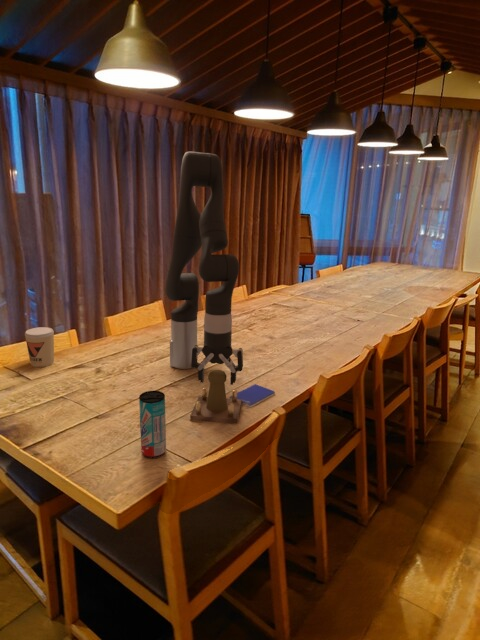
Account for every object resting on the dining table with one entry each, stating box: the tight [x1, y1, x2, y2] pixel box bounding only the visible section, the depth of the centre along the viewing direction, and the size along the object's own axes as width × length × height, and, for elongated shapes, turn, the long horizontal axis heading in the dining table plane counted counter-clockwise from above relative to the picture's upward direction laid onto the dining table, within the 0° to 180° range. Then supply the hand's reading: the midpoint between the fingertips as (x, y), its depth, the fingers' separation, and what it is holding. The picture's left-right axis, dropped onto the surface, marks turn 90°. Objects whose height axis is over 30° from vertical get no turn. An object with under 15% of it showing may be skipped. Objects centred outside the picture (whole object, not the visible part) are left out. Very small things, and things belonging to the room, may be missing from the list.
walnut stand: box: [189, 386, 242, 425], centre depth 129 cm, size 13×12×5 cm
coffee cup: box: [24, 326, 55, 368], centre depth 159 cm, size 9×9×12 cm
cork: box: [206, 369, 227, 412], centre depth 128 cm, size 6×6×11 cm
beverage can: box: [138, 390, 167, 459], centre depth 107 cm, size 6×6×15 cm
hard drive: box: [229, 383, 276, 408], centre depth 140 cm, size 2×8×12 cm
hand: (216, 382), depth 127 cm, fingers open, 8 cm apart
